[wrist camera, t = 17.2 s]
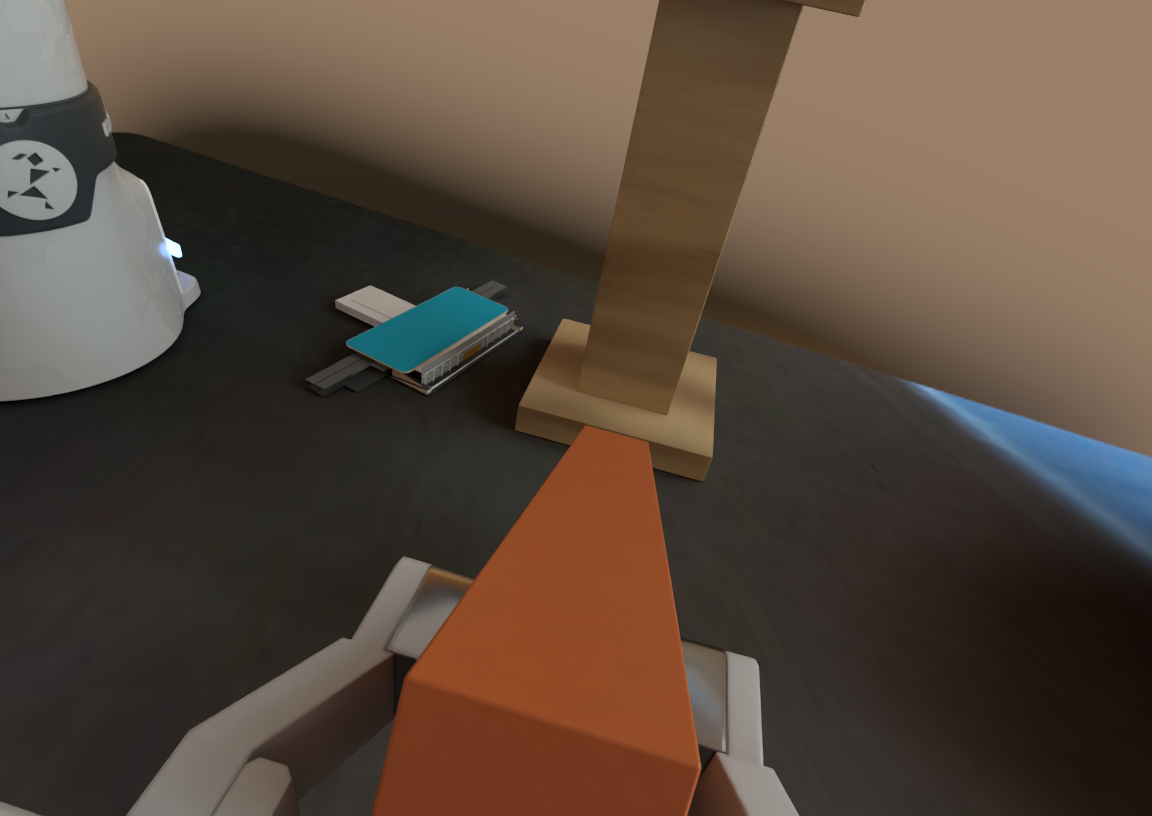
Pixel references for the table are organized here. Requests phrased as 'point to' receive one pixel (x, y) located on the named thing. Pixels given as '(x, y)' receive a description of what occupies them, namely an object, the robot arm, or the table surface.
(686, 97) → the birch stand
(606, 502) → the rod
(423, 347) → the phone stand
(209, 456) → the table surface
